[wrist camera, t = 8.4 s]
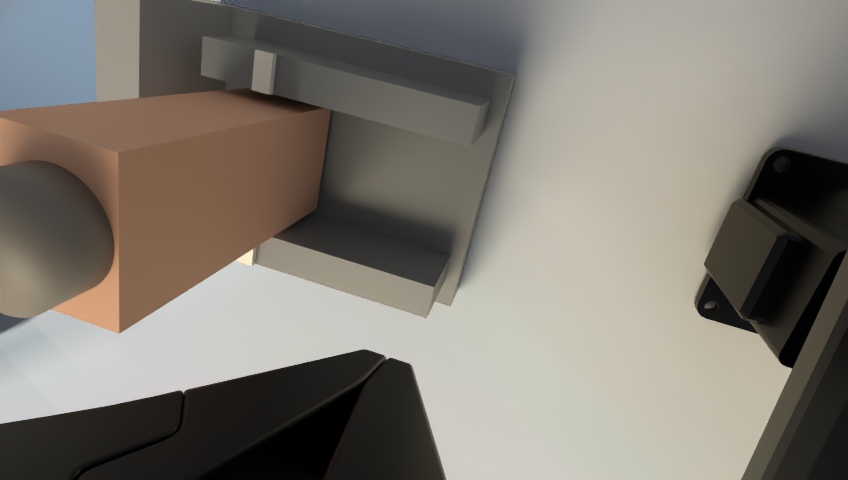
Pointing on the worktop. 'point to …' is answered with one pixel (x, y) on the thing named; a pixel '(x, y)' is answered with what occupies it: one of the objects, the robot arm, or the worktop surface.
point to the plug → (146, 196)
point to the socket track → (335, 135)
